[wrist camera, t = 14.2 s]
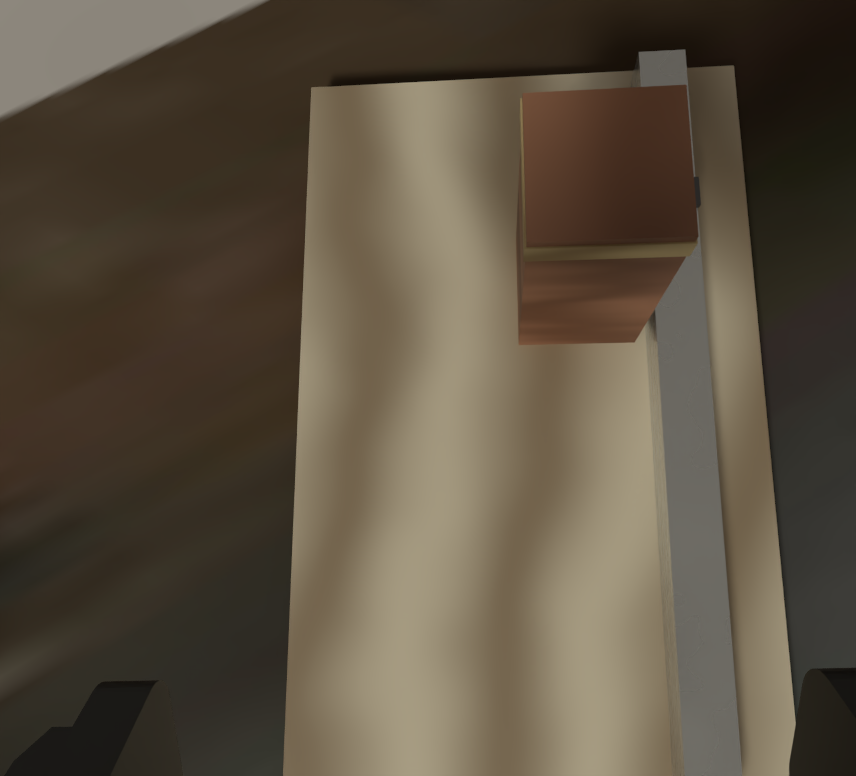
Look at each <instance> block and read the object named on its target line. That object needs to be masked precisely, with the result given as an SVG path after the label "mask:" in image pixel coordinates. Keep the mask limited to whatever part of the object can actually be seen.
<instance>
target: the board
mask: <svg viewBox="0 0 856 776" xmlns="http://www.w3.org/2000/svg"><path fill="white" fill-rule="evenodd" d="M632 75H633V71H618V72H599V73H580V74H561V75H542V76H523V77H504V78H485V79H466V80H447V81H428V82H409V83H390V84H371V85H352V86H333V87H314V88H311V110H310V135H309V159H308V183H307V207H306V232H305V256H304V280H303V305H302V329H301V353H300V377H299V402H298V426H297V450H296V475H295V499H294V523H293V548H292V572H291V596H290V620H289V645H288V669H287V693H286V718H285V742H284V766H283V776H672V762H671V745H670V728H669V712H668V695H667V679H666V662H665V646H664V629H663V613H662V596H661V580H660V563H659V546H658V530H657V513H656V497H655V480H654V464H653V447H652V431H651V414H650V398H649V381H648V364H647V348H646V331H645V326H644V328H643V329H642V331H641V333H640V334H639V336H638V338H637V339H636V341H635V343H592V344H548V345H519V342H518V301H517V260H516V228H517V205H518V183H519V161H520V98H522V94H523V93H533V92H552V91H571V90H591V89H610V88H629V87H631V79H632ZM687 78H688V91H689V103H690V116H691V129H692V141H693V154H694V167H695V177H699V185H700V197H701V205H700V207H699V208H698V218H699V230H700V243H701V256H702V268H703V281H704V294H705V306H706V319H707V332H708V345H709V357H710V370H711V383H712V395H713V408H714V421H715V434H716V446H717V459H718V472H719V484H720V497H721V510H722V522H723V535H724V548H725V561H726V573H727V586H728V599H729V611H730V624H731V637H732V649H733V662H734V675H735V688H736V700H737V713H738V726H739V738H740V751H741V764H742V776H789V762H790V755H791V749H792V743H793V737H794V731H795V726H796V722H795V711H794V700H793V690H792V679H791V668H790V658H789V647H788V637H787V626H786V615H785V605H784V594H783V583H782V573H781V562H780V551H779V541H778V530H777V519H776V509H775V498H774V487H773V477H772V466H771V456H770V445H769V434H768V424H767V413H766V402H765V392H764V381H763V370H762V360H761V349H760V338H759V328H758V317H757V306H756V296H755V285H754V274H753V264H752V253H751V243H750V232H749V221H748V211H747V200H746V189H745V179H744V168H743V157H742V147H741V136H740V125H739V115H738V104H737V93H736V83H735V72H734V65H733V66H714V67H695V68H687Z"/></svg>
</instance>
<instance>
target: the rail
mask: <svg viewBox="0 0 856 776" xmlns="http://www.w3.org/2000/svg"><path fill="white" fill-rule="evenodd" d="M668 85H687V97H688V110H689V122H690V135H691V148H692V160H693V173H694V185H695V198H696V210H697V223H698V235H699V237H698V238H697V240H698V244H697V246H696V247H695V249H694V250H693V252H692V254H691V255H690V256H686V258H685V260H684V261H683V263H682V265H681V266H680V268H679V270H678V271H677V273H676V275H675V276H674V278H673V280H672V281H671V283H670V285H669V286H668V288H667V290H666V291H665V293H664V295H663V296H662V298H661V300H660V301H659V303H658V305H657V306H656V308H655V310H654V311H653V313H652V315H651V316H650V318H649V320H648V321H647V323H646V324H645V331H646V348H647V364H648V381H649V398H650V414H651V431H652V447H653V464H654V480H655V497H656V513H657V530H658V546H659V563H660V580H661V596H662V613H663V629H664V646H665V662H666V679H667V695H668V712H669V728H670V745H671V762H672V776H742V764H741V751H740V738H739V726H738V713H737V700H736V688H735V675H734V662H733V649H732V637H731V624H730V611H729V599H728V586H727V573H726V561H725V548H724V535H723V522H722V510H721V497H720V484H719V472H718V459H717V446H716V434H715V421H714V408H713V395H712V383H711V370H710V357H709V345H708V332H707V319H706V306H705V294H704V281H703V268H702V256H701V243H700V230H699V218H698V208H699V207H700V205H701V197H700V185H699V177H695V167H694V154H693V141H692V129H691V116H690V103H689V91H688V78H687V65H686V52H685V50H666V51H648V52H639V53H638V57H637V60H636V64H635V68H634V71H633V75H632V79H631V87H648V86H668Z"/></svg>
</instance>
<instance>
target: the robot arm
mask: <svg viewBox="0 0 856 776" xmlns="http://www.w3.org/2000/svg"><path fill="white" fill-rule="evenodd" d="M5 776H183V771H182V765H181V759H180V753H179V747H178V741H177V736H176V730H175V724H174V718H173V712H172V707H171V701H170V695H169V691H168V688H167V685H166V684H165V682H163V681H113V682H101V683H100V684H98V686H97V687H96V688H95V689H94V691H93V692H92V694H91V695H90V697H89V699H88V701H87V702H86V704H85V706H84V708H83V709H82V711H81V713H80V715H79V716H78V718H77V720H76V722H75V723H74V725H73V727H52V728H51V729H49V730H48V731H47V732H46V733H45V734H44V735H43V736H42V737H40V738H39V739H38V740H37V741H36V742H35V743H34V744H33V745H31V746H30V747H29V748H28V749H27V750H26V751H25V752H24V753H22V754H21V755H20V756H19V757H18V758H17V759H16V760H15V761H14V762H13V763H12V765H11V766H10V768H9V769H8V771H7V773H6V774H5ZM789 776H856V668H823V669H810V670H809V671H808V672H807V673H806V675H805V677H804V680H803V684H802V690H801V696H800V702H799V708H798V714H797V720H796V726H795V731H794V737H793V743H792V749H791V755H790V762H789Z"/></svg>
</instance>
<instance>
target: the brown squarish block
mask: <svg viewBox="0 0 856 776" xmlns="http://www.w3.org/2000/svg"><path fill="white" fill-rule="evenodd" d="M698 237H699V235H698V223H697V210H696V198H695V185H694V173H693V160H692V148H691V135H690V122H689V110H688V97H687V85H668V86H648V87H629V88H610V89H591V90H571V91H552V92H533V93H523V94H522V98H520V161H519V183H518V205H517V228H516V260H517V301H518V342H519V345H548V344H592V343H635V341H636V339H637V338H638V336H639V334H640V333H641V331H642V329H643V328H644V326H645V324H646V323H647V321H648V320H649V318H650V316H651V315H652V313H653V311H654V310H655V308H656V306H657V305H658V303H659V301H660V300H661V298H662V296H663V295H664V293H665V291H666V290H667V288H668V286H669V285H670V283H671V281H672V280H673V278H674V276H675V275H676V273H677V271H678V270H679V268H680V266H681V265H682V263H683V261H684V260H685V258H686V256H690V255H691V254H692V252H693V250H694V249H695V247H696V246H697V244H698V240H697V238H698Z"/></svg>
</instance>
